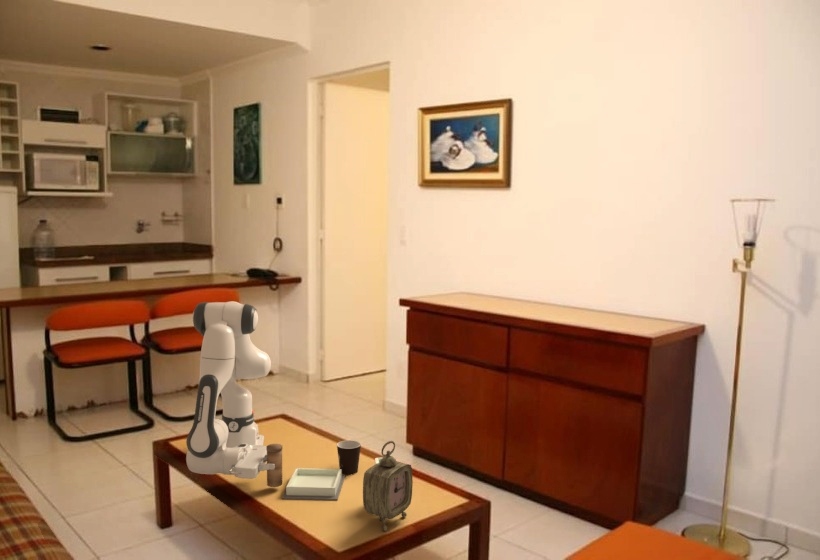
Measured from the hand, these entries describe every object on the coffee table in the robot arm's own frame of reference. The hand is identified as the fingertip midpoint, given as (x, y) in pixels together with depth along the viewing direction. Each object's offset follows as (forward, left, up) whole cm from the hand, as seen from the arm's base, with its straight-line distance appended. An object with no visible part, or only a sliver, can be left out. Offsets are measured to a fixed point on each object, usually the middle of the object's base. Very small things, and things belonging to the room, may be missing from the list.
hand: (277, 462), depth 225 cm
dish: (-3, +12, -9) cm, 16 cm away
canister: (0, -1, -7) cm, 8 cm away
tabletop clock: (+21, +38, -10) cm, 45 cm away
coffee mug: (-19, +22, -10) cm, 31 cm away
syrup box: (+9, +36, -10) cm, 39 cm away
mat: (-3, +12, -9) cm, 16 cm away
